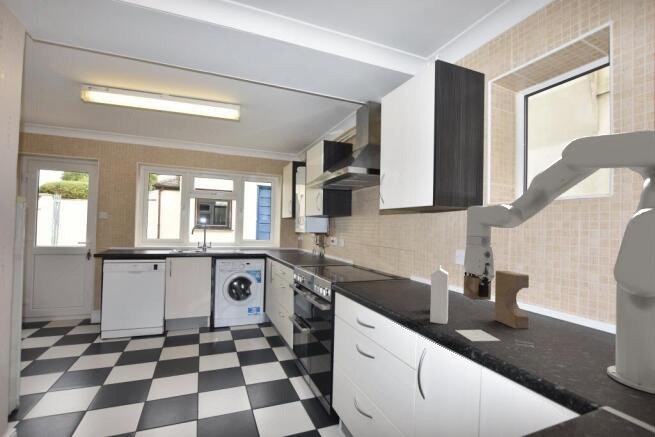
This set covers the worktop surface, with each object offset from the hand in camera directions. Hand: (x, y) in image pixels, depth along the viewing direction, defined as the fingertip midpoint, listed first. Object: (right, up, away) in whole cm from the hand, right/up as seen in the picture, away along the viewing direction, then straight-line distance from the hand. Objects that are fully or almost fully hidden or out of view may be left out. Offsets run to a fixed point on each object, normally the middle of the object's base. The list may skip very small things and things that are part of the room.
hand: (476, 293), depth 102 cm
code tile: (+12, -14, -7) cm, 20 cm away
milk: (-8, -15, +15) cm, 22 cm away
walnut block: (0, -1, 0) cm, 1 cm away
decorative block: (+20, -15, +13) cm, 29 cm away
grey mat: (0, -14, -1) cm, 14 cm away
